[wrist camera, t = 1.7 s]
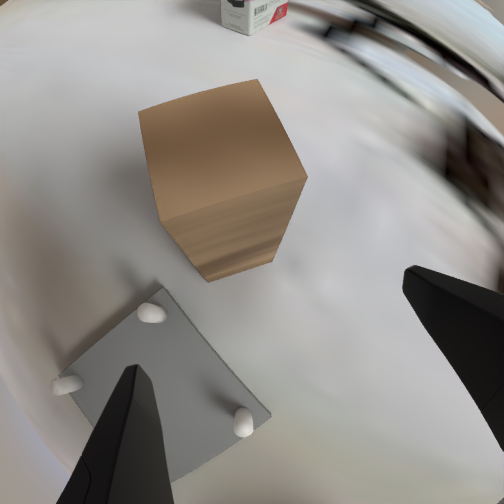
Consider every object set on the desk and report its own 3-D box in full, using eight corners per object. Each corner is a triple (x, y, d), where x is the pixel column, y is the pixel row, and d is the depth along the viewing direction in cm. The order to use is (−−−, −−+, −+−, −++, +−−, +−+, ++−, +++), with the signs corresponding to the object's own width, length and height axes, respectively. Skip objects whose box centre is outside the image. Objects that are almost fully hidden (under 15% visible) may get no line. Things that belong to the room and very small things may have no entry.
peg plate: (270, 412, 19) (276, 430, 15) (155, 487, 17) (141, 510, 13) (166, 289, 21) (150, 280, 17) (64, 374, 19) (36, 379, 15)
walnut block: (272, 261, 22) (307, 176, 10) (207, 282, 22) (160, 222, 9) (250, 202, 23) (257, 79, 11) (189, 221, 23) (138, 111, 10)
